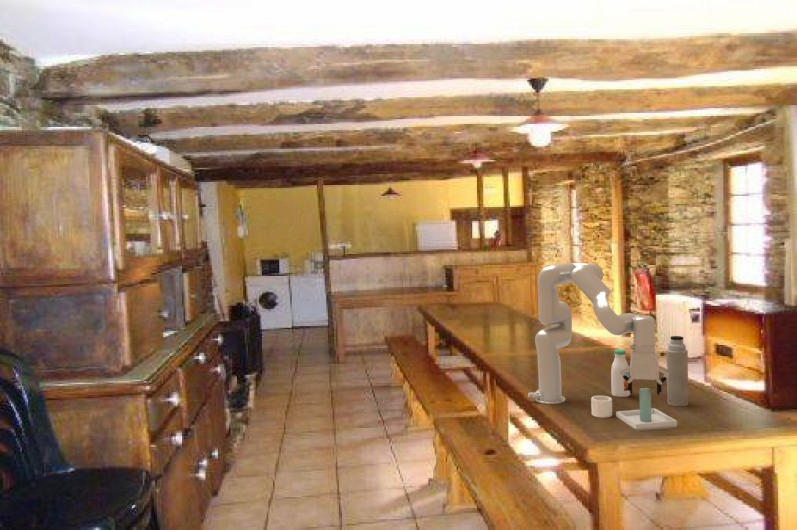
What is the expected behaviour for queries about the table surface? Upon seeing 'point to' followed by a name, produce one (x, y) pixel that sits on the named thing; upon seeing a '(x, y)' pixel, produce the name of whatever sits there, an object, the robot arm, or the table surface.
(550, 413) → the table surface
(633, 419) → the tray
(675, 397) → the thermos bottle
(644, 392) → the peg
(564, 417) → the table surface
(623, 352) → the milk bottle
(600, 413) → the cup
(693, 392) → the table surface
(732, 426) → the table surface
